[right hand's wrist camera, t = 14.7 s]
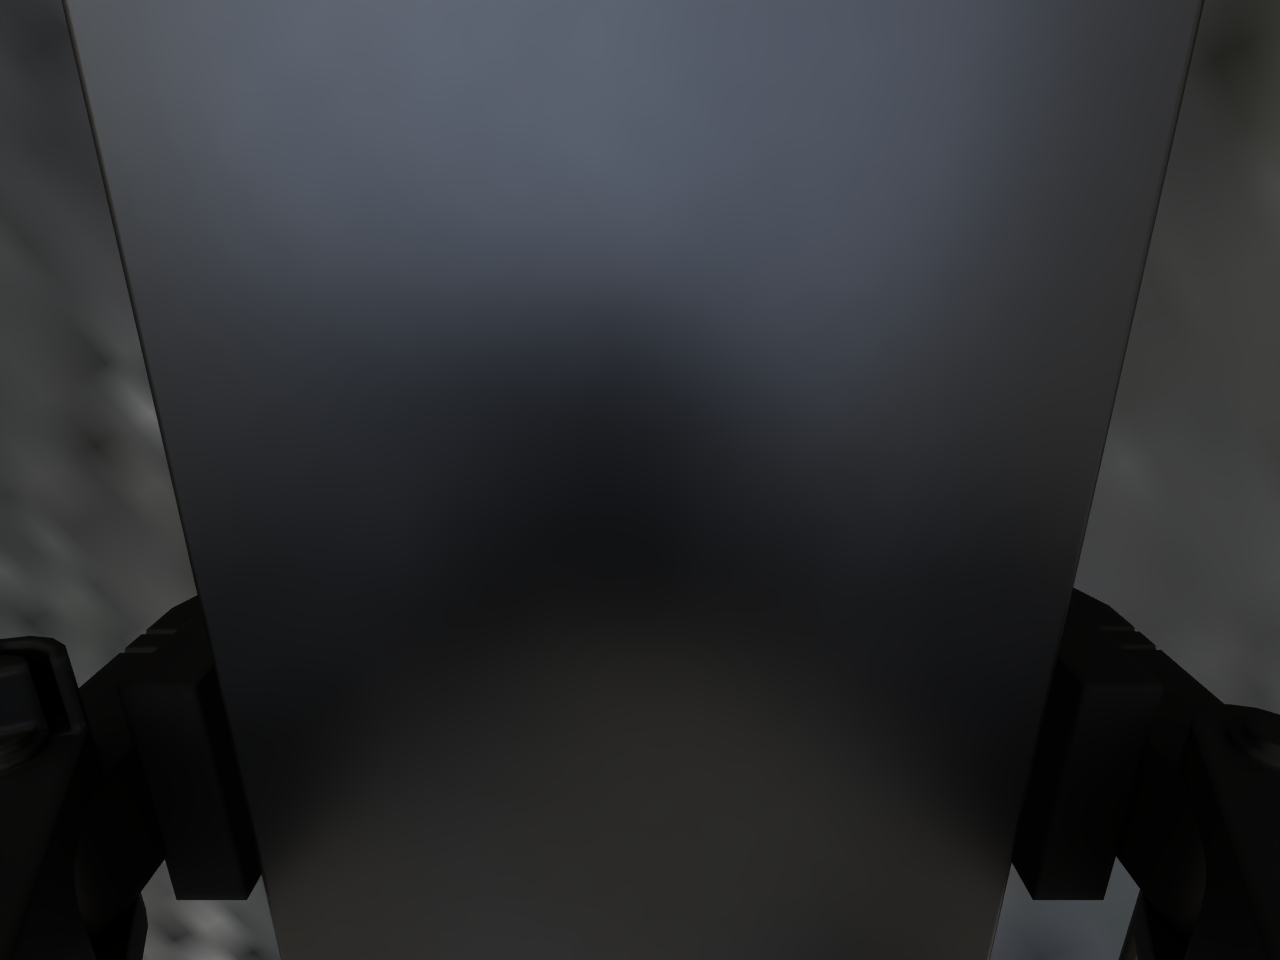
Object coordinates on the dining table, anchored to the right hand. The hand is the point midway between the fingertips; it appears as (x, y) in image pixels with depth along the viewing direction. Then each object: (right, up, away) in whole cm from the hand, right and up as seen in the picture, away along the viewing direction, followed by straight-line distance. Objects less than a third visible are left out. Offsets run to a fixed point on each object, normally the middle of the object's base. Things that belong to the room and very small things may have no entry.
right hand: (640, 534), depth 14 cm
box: (0, +9, +1) cm, 10 cm away
